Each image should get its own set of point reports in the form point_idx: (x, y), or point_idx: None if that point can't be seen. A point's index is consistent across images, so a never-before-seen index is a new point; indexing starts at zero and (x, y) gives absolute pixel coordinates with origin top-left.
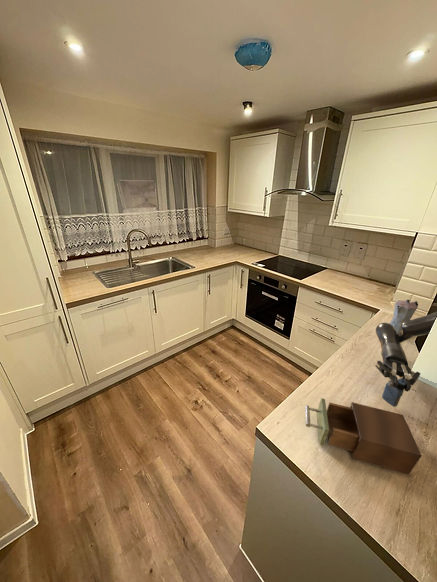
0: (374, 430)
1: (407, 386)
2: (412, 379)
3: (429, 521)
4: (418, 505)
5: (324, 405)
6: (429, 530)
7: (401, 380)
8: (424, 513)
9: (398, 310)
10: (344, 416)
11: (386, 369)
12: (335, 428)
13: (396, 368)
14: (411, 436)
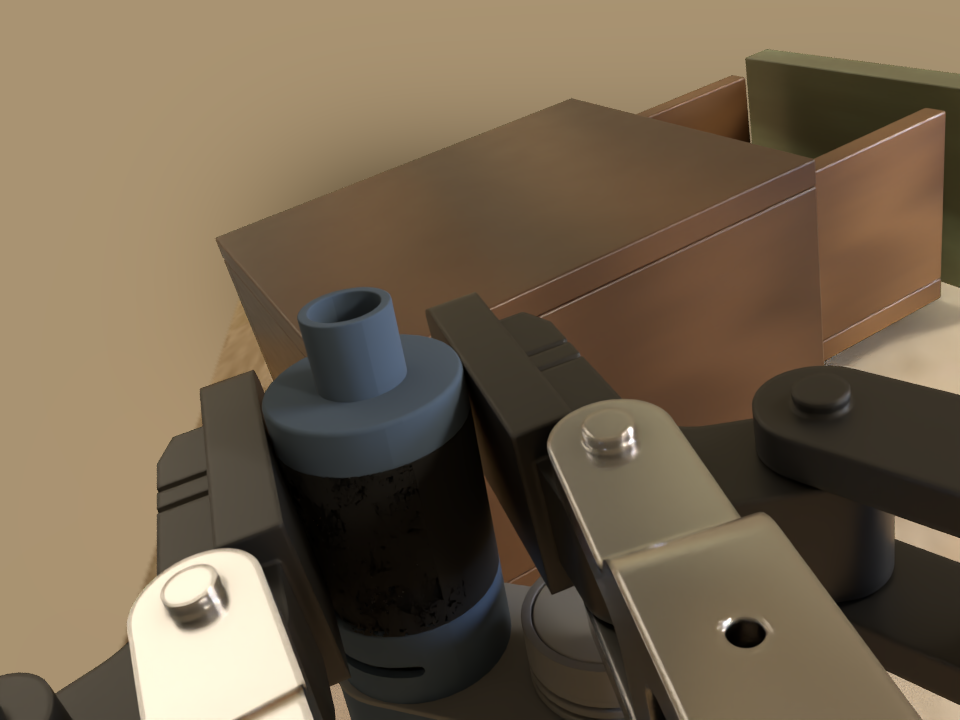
0: (526, 157)
1: (248, 376)
2: (38, 677)
3: (225, 361)
4: (263, 373)
5: (931, 79)
6: (231, 339)
7: (376, 307)
8: (241, 368)
9: None
10: None
11: (910, 435)
12: (732, 81)
13: (662, 684)
14: (268, 277)
